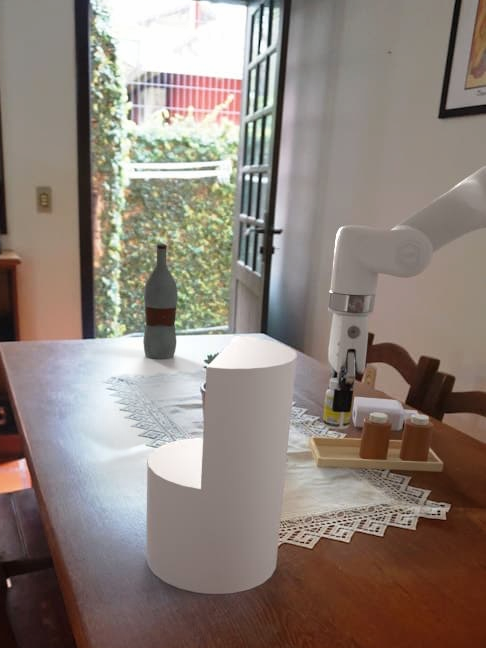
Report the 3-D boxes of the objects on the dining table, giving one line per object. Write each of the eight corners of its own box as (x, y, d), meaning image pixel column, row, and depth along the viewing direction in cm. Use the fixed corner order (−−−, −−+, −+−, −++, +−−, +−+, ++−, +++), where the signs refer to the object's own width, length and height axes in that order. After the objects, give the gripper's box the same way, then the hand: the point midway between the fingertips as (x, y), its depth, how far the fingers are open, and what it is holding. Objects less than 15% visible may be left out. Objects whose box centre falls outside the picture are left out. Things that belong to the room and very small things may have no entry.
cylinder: (283, 537, 97) (303, 341, 86) (266, 604, 81) (288, 375, 70) (166, 520, 100) (171, 329, 89) (128, 581, 85) (128, 359, 74)
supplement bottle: (343, 421, 126) (349, 376, 123) (353, 429, 122) (359, 384, 119) (318, 421, 125) (323, 376, 122) (327, 430, 121) (332, 384, 118)
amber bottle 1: (383, 452, 128) (389, 411, 125) (389, 462, 124) (396, 419, 120) (356, 451, 128) (362, 409, 125) (362, 461, 124) (368, 418, 120)
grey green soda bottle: (162, 350, 199) (164, 242, 187) (182, 356, 193) (186, 245, 181) (136, 354, 193) (137, 243, 181) (156, 361, 187) (158, 246, 175)
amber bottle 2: (422, 454, 128) (430, 412, 125) (430, 464, 124) (438, 421, 120) (396, 453, 128) (403, 411, 125) (403, 463, 124) (410, 420, 120)
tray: (423, 450, 131) (425, 441, 131) (441, 474, 121) (443, 463, 120) (308, 446, 131) (309, 436, 130) (316, 468, 121) (318, 458, 120)
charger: (428, 436, 139) (354, 429, 141) (422, 421, 148) (351, 415, 150) (432, 414, 138) (357, 407, 139) (425, 400, 146) (354, 394, 148)
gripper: (385, 313, 107) (369, 423, 114) (362, 296, 123) (350, 393, 130) (338, 311, 107) (324, 421, 114) (321, 294, 123) (310, 392, 130)
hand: (338, 405), depth 122 cm, fingers closed on supplement bottle, 4 cm apart
